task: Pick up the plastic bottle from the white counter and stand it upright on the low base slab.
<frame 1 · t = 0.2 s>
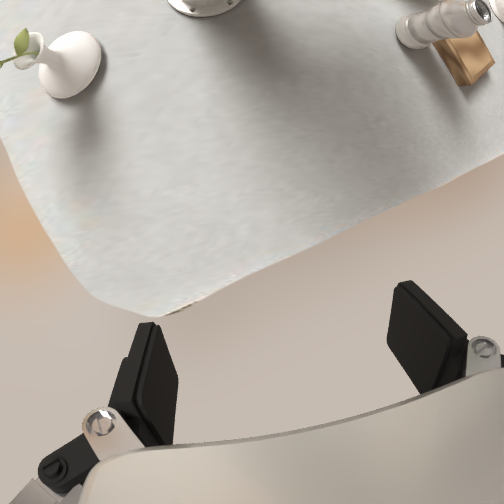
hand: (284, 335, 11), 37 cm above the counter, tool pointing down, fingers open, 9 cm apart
flower in vase: (69, 68, 35), on the counter
plastic bottle: (405, 35, 38), on the counter
jar: (498, 7, 33), on the counter
base slab: (457, 50, 38), on the counter
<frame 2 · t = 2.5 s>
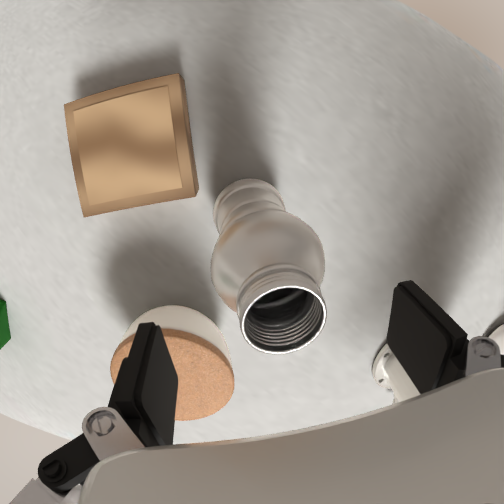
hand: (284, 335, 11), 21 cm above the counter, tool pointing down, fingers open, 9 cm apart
flower in vase: (493, 342, 45), on the counter
plastic bottle: (247, 205, 31), on the counter
base slab: (136, 144, 28), on the counter
lidded bowl: (179, 330, 36), on the counter
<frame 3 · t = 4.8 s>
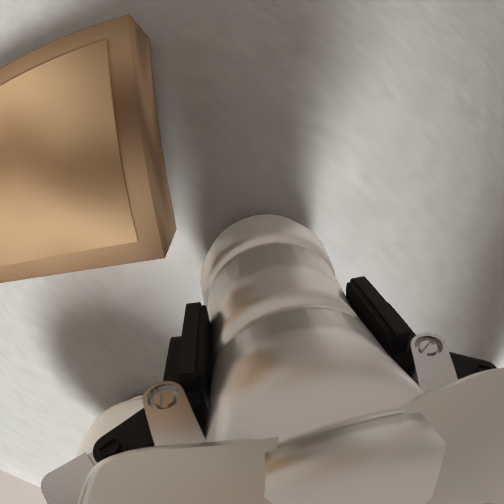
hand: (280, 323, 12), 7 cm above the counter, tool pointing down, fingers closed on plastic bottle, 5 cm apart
plastic bottle: (260, 256, 18), on the counter, touching gripper
base slab: (70, 154, 15), on the counter
lidded bowl: (162, 417, 23), on the counter
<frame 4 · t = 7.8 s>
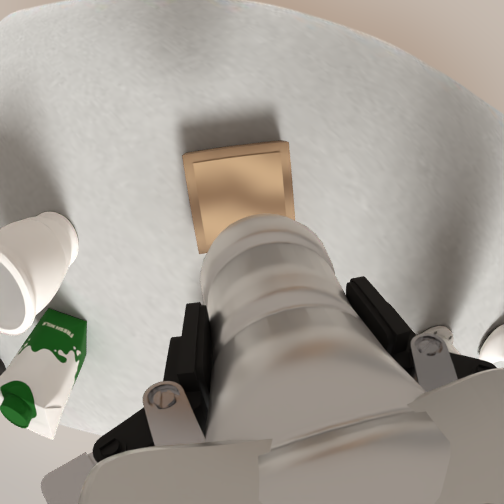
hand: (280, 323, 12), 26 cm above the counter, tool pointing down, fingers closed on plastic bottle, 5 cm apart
milk carton: (67, 331, 41), on the counter
flower in vase: (493, 340, 55), on the counter
plastic bottle: (260, 256, 18), point 19 cm above the counter, touching gripper
jar: (54, 239, 36), on the counter
base slab: (239, 191, 36), on the counter
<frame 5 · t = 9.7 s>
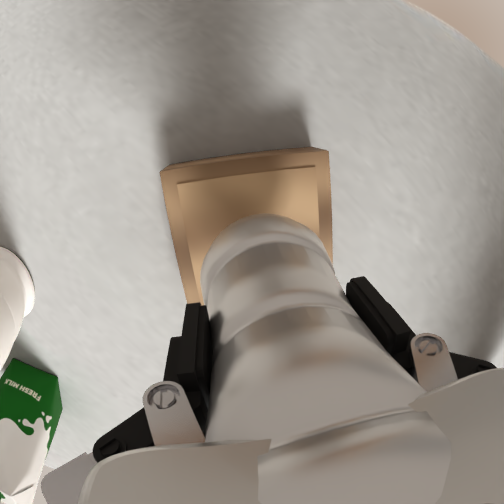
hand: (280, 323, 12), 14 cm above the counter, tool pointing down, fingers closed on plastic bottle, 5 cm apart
milk carton: (38, 383, 30), on the counter
plastic bottle: (260, 256, 18), point 7 cm above the counter, touching gripper
jar: (7, 280, 24), on the counter
base slab: (249, 222, 25), on the counter
when the fingers open (12 cm above the counter, at t = 11.1 s): plastic bottle drops 1 cm, resting on base slab.
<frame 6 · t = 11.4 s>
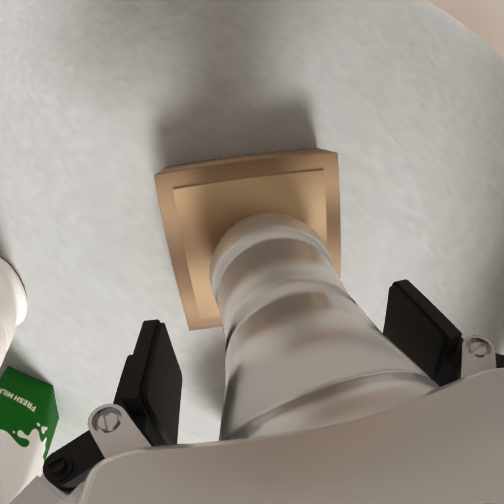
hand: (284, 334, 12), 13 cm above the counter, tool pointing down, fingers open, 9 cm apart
milk carton: (34, 392, 29), on the counter
plastic bottle: (263, 252, 20), point 4 cm above the counter, touching base slab
base slab: (251, 228, 23), on the counter
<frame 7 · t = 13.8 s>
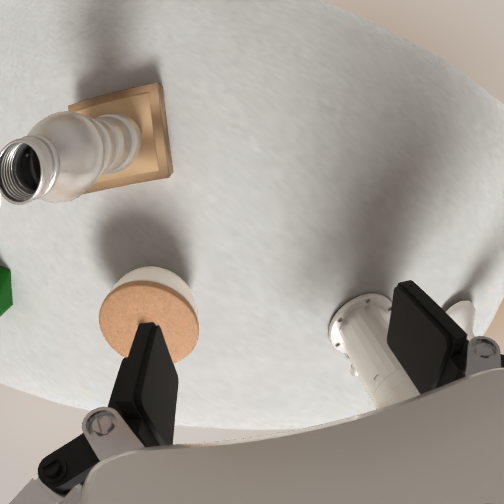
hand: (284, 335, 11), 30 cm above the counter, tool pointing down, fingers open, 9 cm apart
flower in vase: (452, 319, 55), on the counter
plastic bottle: (118, 141, 31), point 4 cm above the counter, touching base slab
base slab: (125, 137, 34), on the counter
lidded bowl: (157, 290, 43), on the counter
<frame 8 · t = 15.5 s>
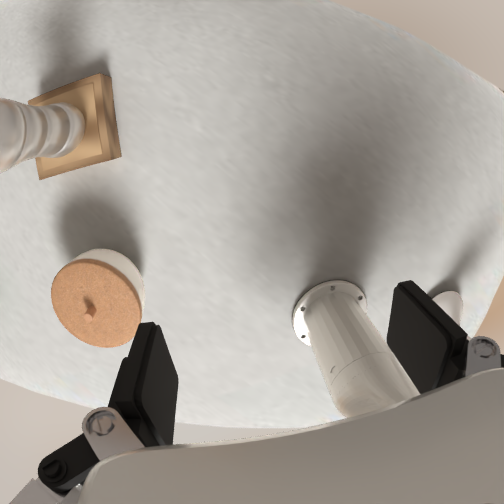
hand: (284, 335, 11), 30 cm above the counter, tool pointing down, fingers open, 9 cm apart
flower in vase: (438, 312, 52), on the counter
plastic bottle: (68, 129, 30), point 4 cm above the counter, touching base slab
base slab: (79, 126, 34), on the counter
lidded bowl: (113, 275, 42), on the counter
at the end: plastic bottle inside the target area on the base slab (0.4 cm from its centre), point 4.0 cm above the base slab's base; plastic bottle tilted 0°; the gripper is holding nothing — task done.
